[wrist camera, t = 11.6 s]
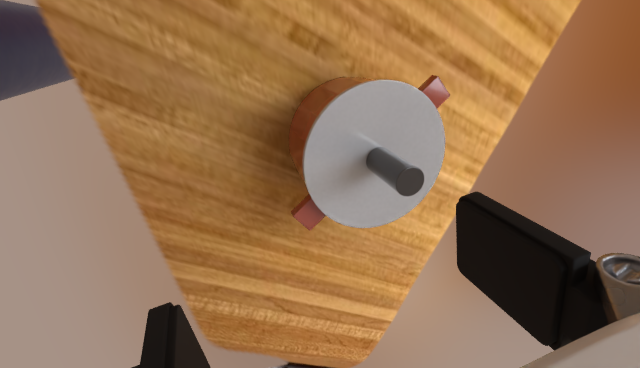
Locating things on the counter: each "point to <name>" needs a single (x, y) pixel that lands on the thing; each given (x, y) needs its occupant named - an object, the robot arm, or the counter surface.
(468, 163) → the counter surface
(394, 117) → the pan lid
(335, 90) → the saucepan
